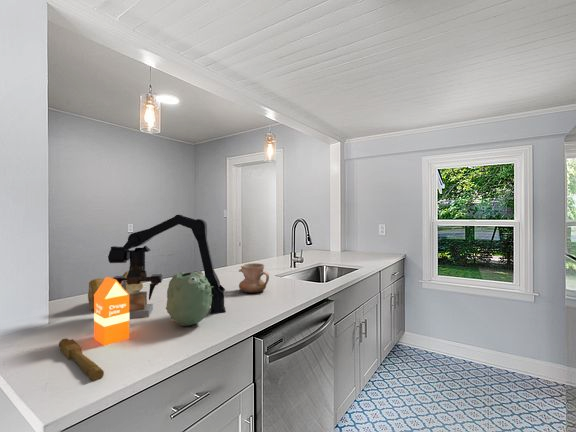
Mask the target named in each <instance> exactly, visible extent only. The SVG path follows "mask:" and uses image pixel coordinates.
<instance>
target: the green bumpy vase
mask: <svg viewBox="0 0 576 432" xmlns="http://www.w3.org/2000/svg"><path fill="white" fill-rule="evenodd" d="M211 288H213V286H210V283H209V282H208V280H207V278H206V277H205V275H204V273H203V271H201V270H198V271H196V272H194V271H193V272H192V271H190V272H184V271H181V272H179V273H175V274H174V275H172V277H171V279H170V280H169V282H168V288H167V290H166V307H165V310H166V311H167V314H168V315H169V316H170V318H171V319H172V320H173V321H174V322H175V323H177V324H178V325H181V326H184V327H188V326H193V325H196V324H198V323H200V322H201V321H203V320H204V319H205V318H206V316H207V315H208V313H209V312H210V308H211V303H212V296H213V295H212V294H211Z"/></svg>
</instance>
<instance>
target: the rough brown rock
mask: <svg viewBox="0 0 576 432" xmlns="http://www.w3.org/2000/svg"><path fill="white" fill-rule="evenodd" d="M128 272H129V270H127V271H125V272H124V273H123V275H122V276H125V278H127V274H128ZM104 280H105V278H102V277H100V278H93V279H91V280H90V281H89V283H88V292H87V301H88V306H89V308H90V309H91V310H93V311H94V294H95V293H96V291H97V290H98V289H99V287H100V286H101V284H102V283H103V281H104ZM124 283H126V292H127V293H128V294H130V293H131V292H141V290H142V289H143V287H144V286H143V282H141V283H140V284H131V285H128V284H127V282H124Z"/></svg>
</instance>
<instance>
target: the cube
mask: <svg viewBox="0 0 576 432" xmlns="http://www.w3.org/2000/svg"><path fill="white" fill-rule="evenodd" d="M147 304H148V290H146V291H145V290H144V291H139V292H131V293H130V294H129V311H131V310H144V309H145V308H146V306H147Z"/></svg>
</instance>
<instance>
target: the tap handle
mask: <svg viewBox="0 0 576 432" xmlns="http://www.w3.org/2000/svg"><path fill="white" fill-rule="evenodd" d="M58 346H59V349H60V353H61V354H62V355H64V356H65V358H66V359H67V360H69V361H70V360H72V361H75V362H76V364H77V365H78V366H79V368H81V370H82V371H83V373H85V374H86V375H87V376H88V378H89V379H90V380H91V381H93V382H97V381H99V380H101V379H103V377H104V373H105V371H104V370H103V369H102V368H101V367H100V366H99V365H97V364H96V363H95V362H94V361H93V360H91V359H90V358H89V357H88V356H87V355H85V354H83V351H82V350H83V349H82V346H81V345H80V344H79V343H78V342H76V340H75V339H74V338H73V339H70V338H66V337H65V338H62V339H61V340H60V341H59V342H58Z"/></svg>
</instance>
